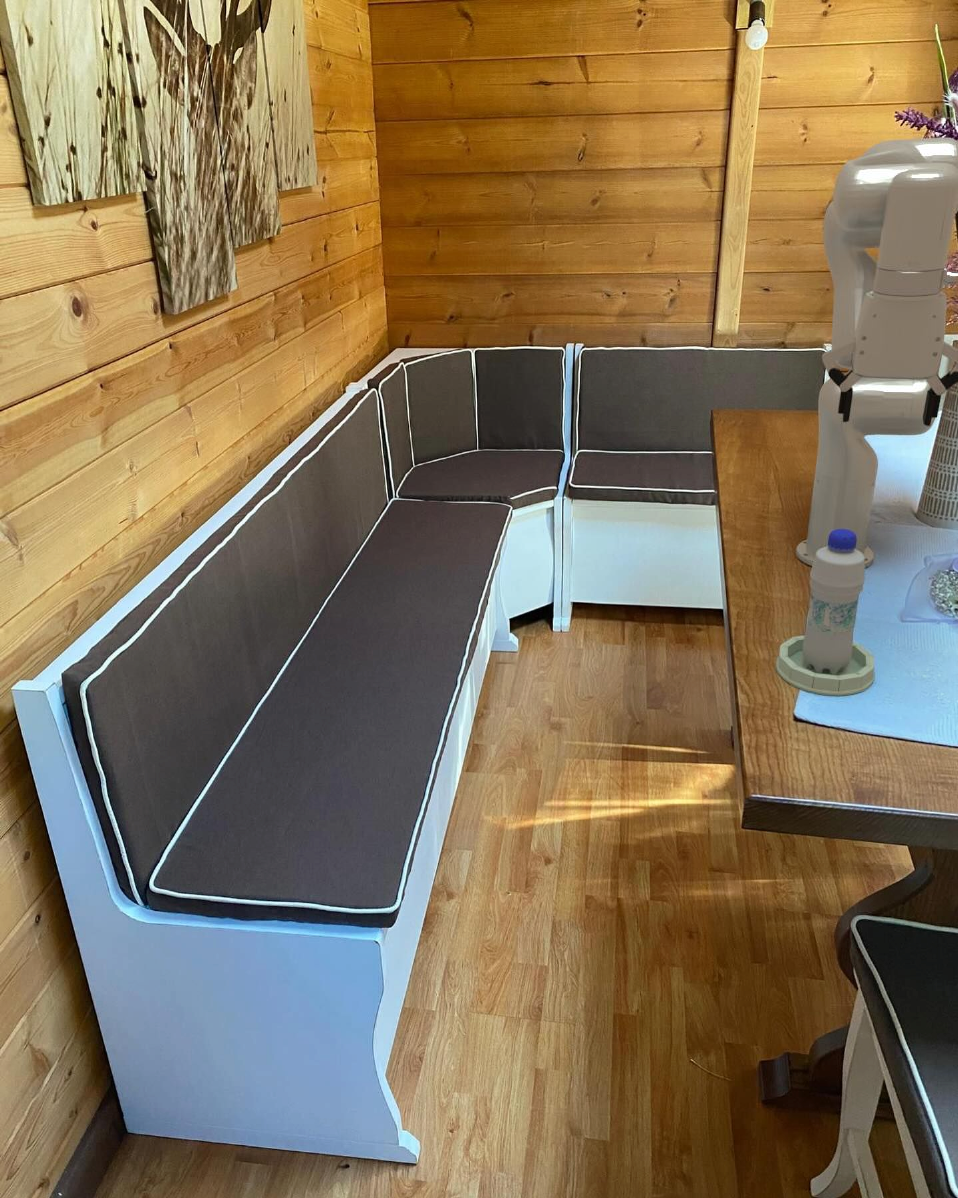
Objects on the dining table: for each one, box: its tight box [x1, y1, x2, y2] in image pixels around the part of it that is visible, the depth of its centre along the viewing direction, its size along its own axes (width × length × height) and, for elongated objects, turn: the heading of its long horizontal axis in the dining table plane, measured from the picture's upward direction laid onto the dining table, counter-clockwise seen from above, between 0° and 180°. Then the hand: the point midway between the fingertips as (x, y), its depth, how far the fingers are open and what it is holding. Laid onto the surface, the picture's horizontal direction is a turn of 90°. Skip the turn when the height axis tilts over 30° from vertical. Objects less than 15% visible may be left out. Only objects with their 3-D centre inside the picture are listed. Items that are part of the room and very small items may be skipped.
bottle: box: [802, 529, 866, 675], centre depth 118 cm, size 7×7×20 cm
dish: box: [775, 634, 876, 697], centre depth 122 cm, size 13×13×2 cm
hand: (885, 420), depth 116 cm, fingers open, 9 cm apart
